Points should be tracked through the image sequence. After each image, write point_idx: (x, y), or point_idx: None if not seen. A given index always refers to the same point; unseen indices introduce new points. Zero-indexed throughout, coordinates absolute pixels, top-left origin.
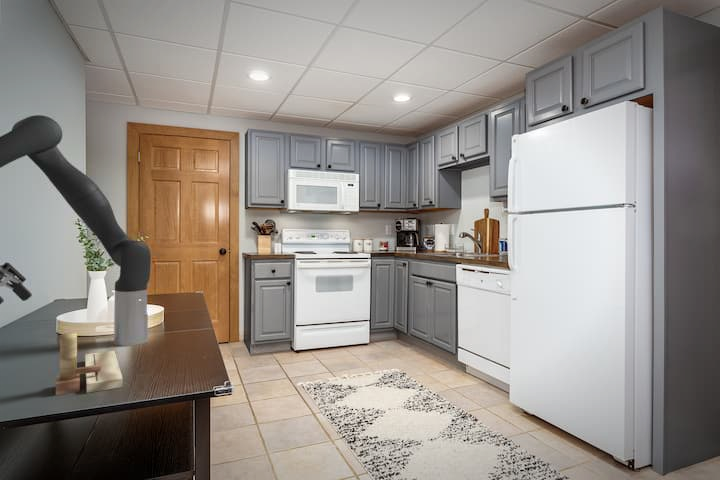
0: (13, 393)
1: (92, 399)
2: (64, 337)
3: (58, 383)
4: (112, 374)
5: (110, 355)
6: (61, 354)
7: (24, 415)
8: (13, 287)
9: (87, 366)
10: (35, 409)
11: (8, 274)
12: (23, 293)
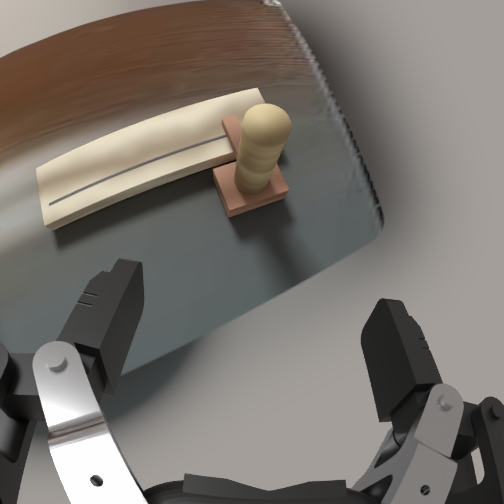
0: (254, 294)
1: (307, 131)
2: (290, 128)
3: (286, 185)
4: (227, 108)
5: (72, 160)
6: (276, 161)
7: (368, 215)
8: (101, 393)
9: (232, 139)
10: (345, 208)
11: (120, 463)
12: (131, 306)
